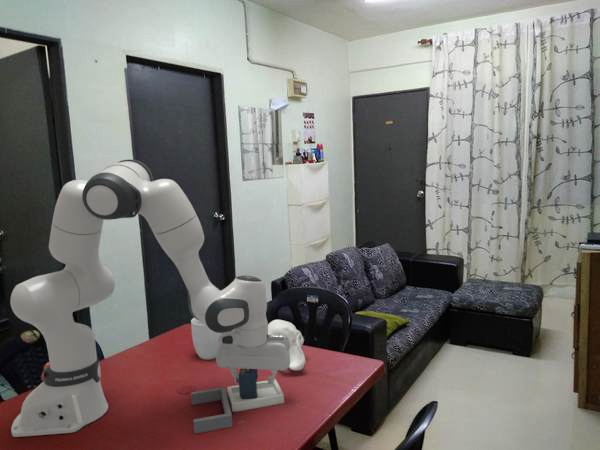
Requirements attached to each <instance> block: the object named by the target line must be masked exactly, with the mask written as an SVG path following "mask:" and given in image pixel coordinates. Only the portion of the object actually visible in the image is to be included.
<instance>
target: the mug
mask: <svg viewBox="0 0 600 450" xmlns="http://www.w3.org/2000/svg"><path fill="white" fill-rule="evenodd" d="M190 325H191V338H192V339H191V340H192V343H193V347H194V350H195V352H196V354H197V355H198V357H199V358H200V359H202V360H207V361H208V360H214V359H216V352H217V347H218V345H219V344H220V343H219V342H218V338H219V336H220V335H221V334H222V333H217V332H214V331H212V330H210V329H209V328H208V327H207V326H205V325H204V324H203V323H202V322H201V321H199V320H197V319H196V318H194V317H193V318H192V319H191V320H190Z"/></svg>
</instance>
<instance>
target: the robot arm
mask: <svg viewBox="0 0 600 450" xmlns="http://www.w3.org/2000/svg"><path fill="white" fill-rule="evenodd" d="M153 176H154V175H153V174H152V171H151V169H150V168H149V167H148V166H147V164H145V163H144V162H142V161H139V160H137V159H122V160H120V161H118V162H116V163H113V164H110V165H108V166H107V167H105V168H104V169H102V170H101V171H99V172H98V173H97V174H94V175H93V176H91V177H90V178H89V179H88V180H85V179H73V180H71V181H68V182H66V183H65V184H64V185H63V186H62V188H61V190H60V192H59V194H58V198H57V200H56V204H55V207H54V211H53V216H52V222H51V228H50V235H49V241H48V242H49V243H48V250H49V253H50V255H51V256H52V258H54V259H55V260H57V261H58V262H60V263H62V264H64V265H65V267H63V269H62V270H60V271H54V272H50V273H46V274H41V275H40V274H39V275H36V276H33V277H31V278H29V279H27V280H25V281H23V282H21V283H18V284H16V285H15V286H14V288H13V290H12V292H11V294H10V299H9V300H10V301H9V302H10V307H11V310H12V312H13V313H14V315H15V316H16V317H17V318H18V319H20V320H21V321H23V322H24V323H28V324H30V325H31V326H34V327H35V328H36V329H37V330H38V331H39V332H40V333H41V334H42V336H43V338H44V341H45V343H46V348H47V354H48V360H49V361H48V362H47V363H46V364H45V365H44V366H43V370H42V373H41V377H40V378H41V381H42V382H41V383H40V384H38V386H36V387H35V389H33V390H32V391H30V393H29V394H28V395H27V396H26V398H25V400H24V401H23V402H22V404H21V409H20V410H21V411H20V413H19V414H18V415H17V416H16V417H15V418H14V420H13V421H12V424H11V429H10V430H11V431H10V433H11V434H10V435H11V436H12V437H13V438H19V437H21V438H22V437H33V436H34V437H35V436H44V435H47V436H48V435H59V434H71V433H75V432H78V431H79V430H81V429H82V428H83V427H85V426H87V425H88V424H91V423H93V422H95V421H96V420H98V419H100V418H101V417H102V416H104V414H106V413H107V411H108V409H109V403H108V402H107V399H106V397H105V394H104V391H103V387H102V382H101V378H102V373H101V365H100V360H99V359H100V358H99V357H98V356H97V355H98V353H97V346H96V345H97V344H96V338H95V333H94V331H93V329H92V328H91V327H90V326H89V325H87V324H83V323H79V322H75V320H74V317H73V312H77V311H79V310H83V309H85V308H89V307H93V306H95V305H97V304H99V303H101V302H103V301H105V300H107V299H109V298H110V297H111V296H112V295H113V293H114V291H115V287H116V286H115V285H116V281H115V278H114V274H113V272H112V271H111V270H110V269H109V268H108V267H107V266H105V264H102V262H101V261H100V256H99V250H100V249H99V248H100V244H101V243H100V242H101V236H102V231H103V224H104V220H111V221H112V220H118V219H132V218H135V217H136V216H137V215H138V214H139V215H141V216H142V217H143V218H144V219H145V220H146V221H147V223H148V225H149V228H150V229H151V231H152V233H153V235H154V237H155V239H156V240H157V242H158V244H159V245H160V247H161V249H162V250H163V251H164V253H165V254H166V255H167V257H168V258H170V260H171V261H172V263H174V265H175V267H176V269H177V271H178V273H179V275H180V278H181V279H182V282H183V283H184V286H185V289H186V291H187V299H188V300H187V301H188V302H187V303H188V309H189V312H190V314H191V316H192V317H193V318H196V319H197V320H199V321H201V322H202V323H203V324H204V325H205V326H207V327H208V328H209V329H210V330H212V331H214V332H217V333H222V334H221V335H220V336H219V338H218V342H219V343H220V344H219V345H218V347H217V352H216V358H215V361H216V363H215V364H216V365H217V367H219V368H220V369H229V372H230V374H231V375H232V377H233V379H234V381H233V382H234V383H235V384H239V372H238V371H237V369H239V370H240V369H247V370H249V369H257V370H268V371H270V373H271V374H272V375H269V376H268V378H267V380H268V384H271V385H273V384H274V379H275V377H276V375H277V373H278V371H287V370H288V369H289V368H288V367H289V366H290V353H289V349H290V341H289V339H288V338H286V337H284V336H283V335H279V336H278V335H268V324H269V323H268V319H267V314H266V313H267V310H268V304H267V302H268V301H267V292H266V288H265V287H266V286H265V283H264V281H263V280H262V279H260V278H258V277H255V276H251V275H238V276H236V277H235V278H234V279H233V281H231V283H230V284H229V285H227V286H225V288H223V289H221V290H220V288H219V287H217V286H216V285H214V284H213V283H212V282H211V281H210V279H209V277H208V275H207V273H206V270H205V268H204V265H203V263H202V261H201V259H200V255H199V253H200V252H199V251H200V250H201V248H202V247H203V244H204V243H205V234H204V230H203V227H202V226H203V225H202V224H201V221H200V219H199V217H198V215H197V213H196V211H195V209H194V207H193V205H192V203H191V202H190V200H189V198H188V196H187V195H186V194H185V192H184V191H183V189H182V188H181V187H180V185H179V184H178V183H177V182H176V181H175V180H173V179H169V178H160V179H156V180H154V177H153ZM284 338H285V339H284Z"/></svg>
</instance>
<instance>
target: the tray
mask: <svg viewBox="0 0 600 450" xmlns="http://www.w3.org/2000/svg"><path fill="white" fill-rule="evenodd" d="M226 387H227V390H226V391H227V398H228V402H229V406H230V410H231V413H236V412H242V411H247V410H253V409H258V408H264V407H270V406H275V405H281V404H285V395H284V392H283V390H282V389H281V386H280V385H279V383H278V381H277V379H276V378H274V384H273V385H271V384H268V379H267V380H262V381H257V395H258V397H257V398H255V399H241V397H240V393H239V384H238V385H237V384H235V385H232V386H226Z"/></svg>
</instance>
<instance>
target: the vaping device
mask: <svg viewBox="0 0 600 450" xmlns="http://www.w3.org/2000/svg"><path fill="white" fill-rule="evenodd" d="M238 374H239V383H238V385H239V393H240V397H241V399H255V398H257V397H258V395H257V382H258V378H259V376H258V369H239V372H238Z"/></svg>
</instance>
